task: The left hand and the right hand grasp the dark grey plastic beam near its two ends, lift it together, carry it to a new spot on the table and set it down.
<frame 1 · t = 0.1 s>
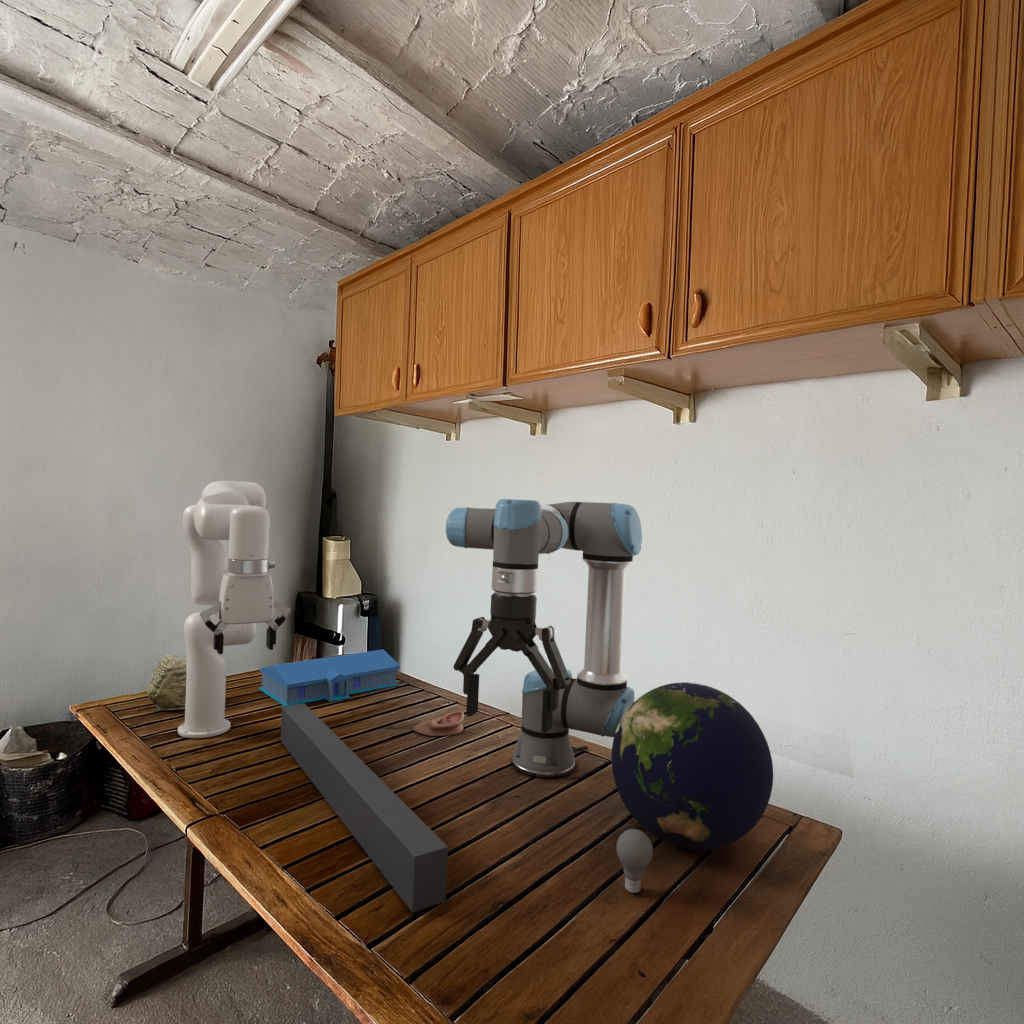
left hand: (245, 650, 130), 31 cm above the table, tool pointing down, fingers open, 9 cm apart
right hand: (508, 721, 104), 28 cm above the table, tool pointing down, fingers open, 13 cm apart
anatomical model: (438, 729, 175), on the table
light bulb: (632, 891, 106), on the table
beam: (343, 802, 132), on the table
model building: (332, 688, 208), on the table
globe: (685, 840, 123), on the table
fossil: (183, 706, 185), on the table
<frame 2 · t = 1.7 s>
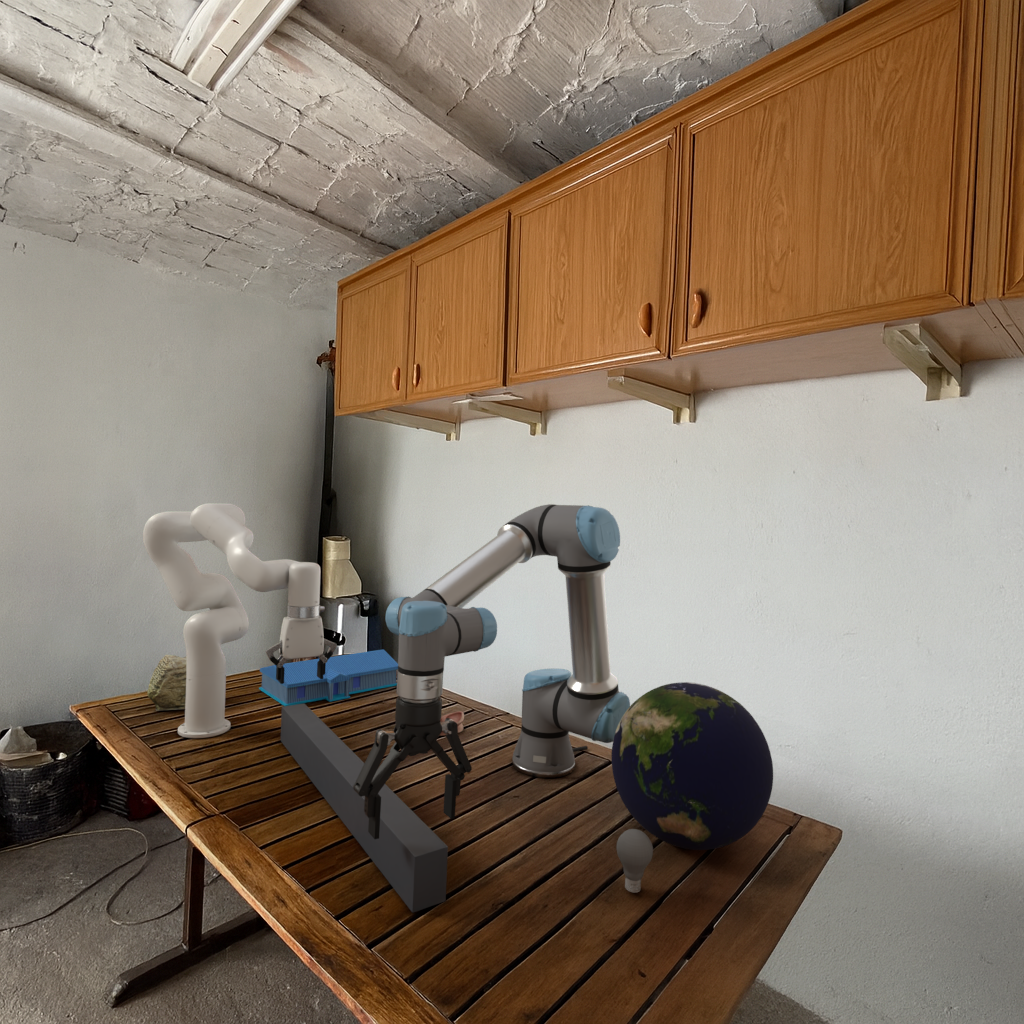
left hand: (300, 680, 158), 17 cm above the table, tool pointing down, fingers open, 9 cm apart
right hand: (412, 825, 104), 10 cm above the table, tool pointing down, fingers open, 13 cm apart
nothing on the table moved.
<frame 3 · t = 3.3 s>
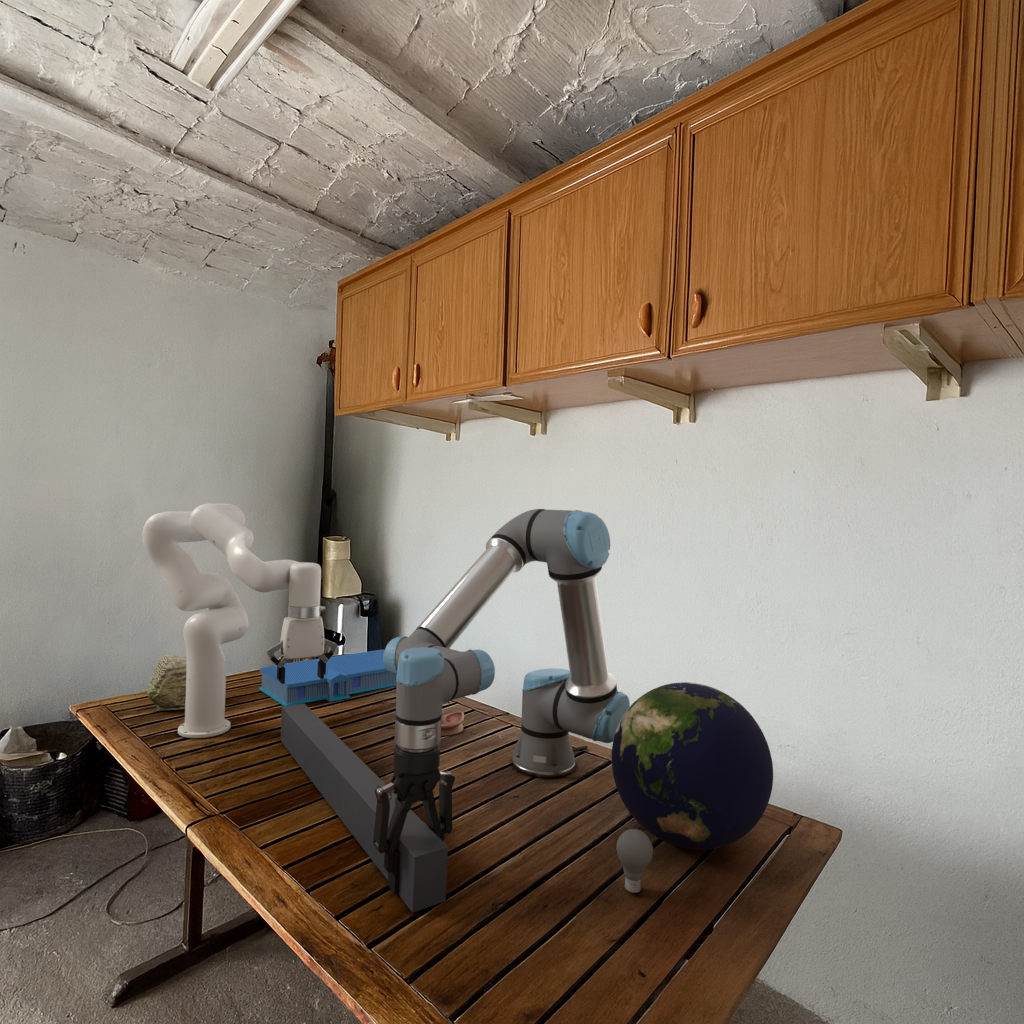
left hand: (301, 679, 159), 17 cm above the table, tool pointing down, fingers open, 9 cm apart
right hand: (411, 882, 105), 0 cm above the table, tool pointing down, fingers closed on beam, 6 cm apart
beam: (343, 802, 132), on the table, touching right hand
everything else where it was.
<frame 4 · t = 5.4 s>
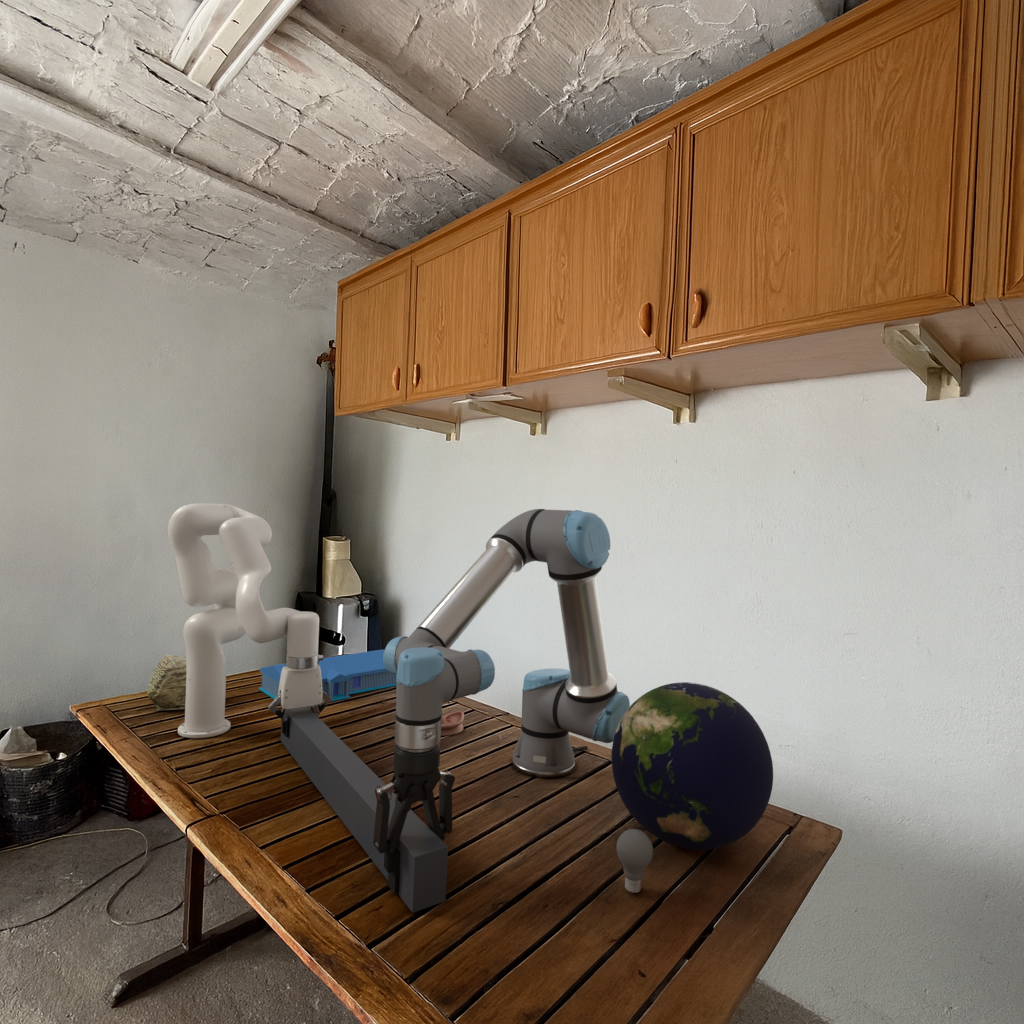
left hand: (299, 732, 159), 4 cm above the table, tool pointing down, fingers closed on beam, 5 cm apart
right hand: (411, 882, 105), 0 cm above the table, tool pointing down, fingers closed on beam, 6 cm apart
beam: (343, 802, 132), on the table, touching left hand, right hand
everything else where it was.
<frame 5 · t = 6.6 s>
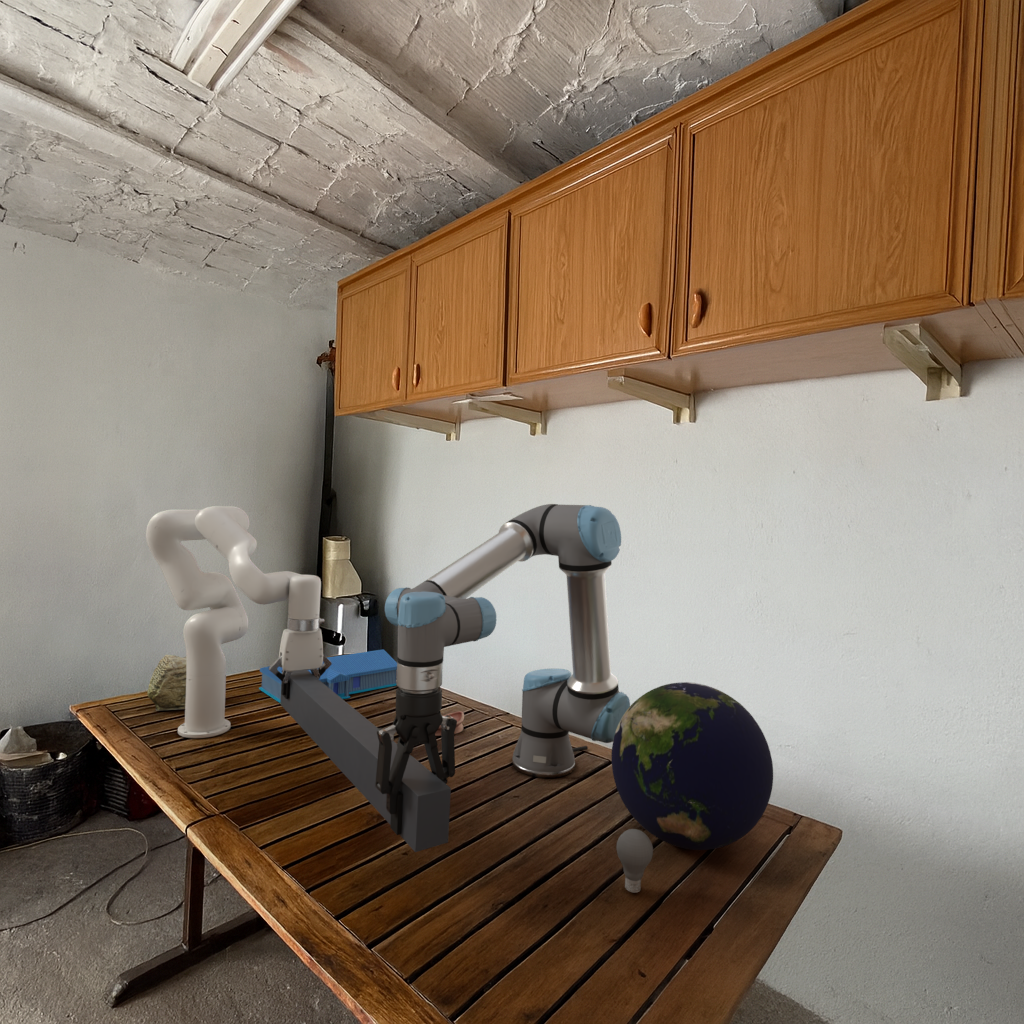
left hand: (299, 695, 159), 13 cm above the table, tool pointing down, fingers closed on beam, 5 cm apart
right hand: (414, 825, 105), 10 cm above the table, tool pointing down, fingers closed on beam, 6 cm apart
beam: (344, 757, 132), point 9 cm above the table, touching left hand, right hand
everything else where it was.
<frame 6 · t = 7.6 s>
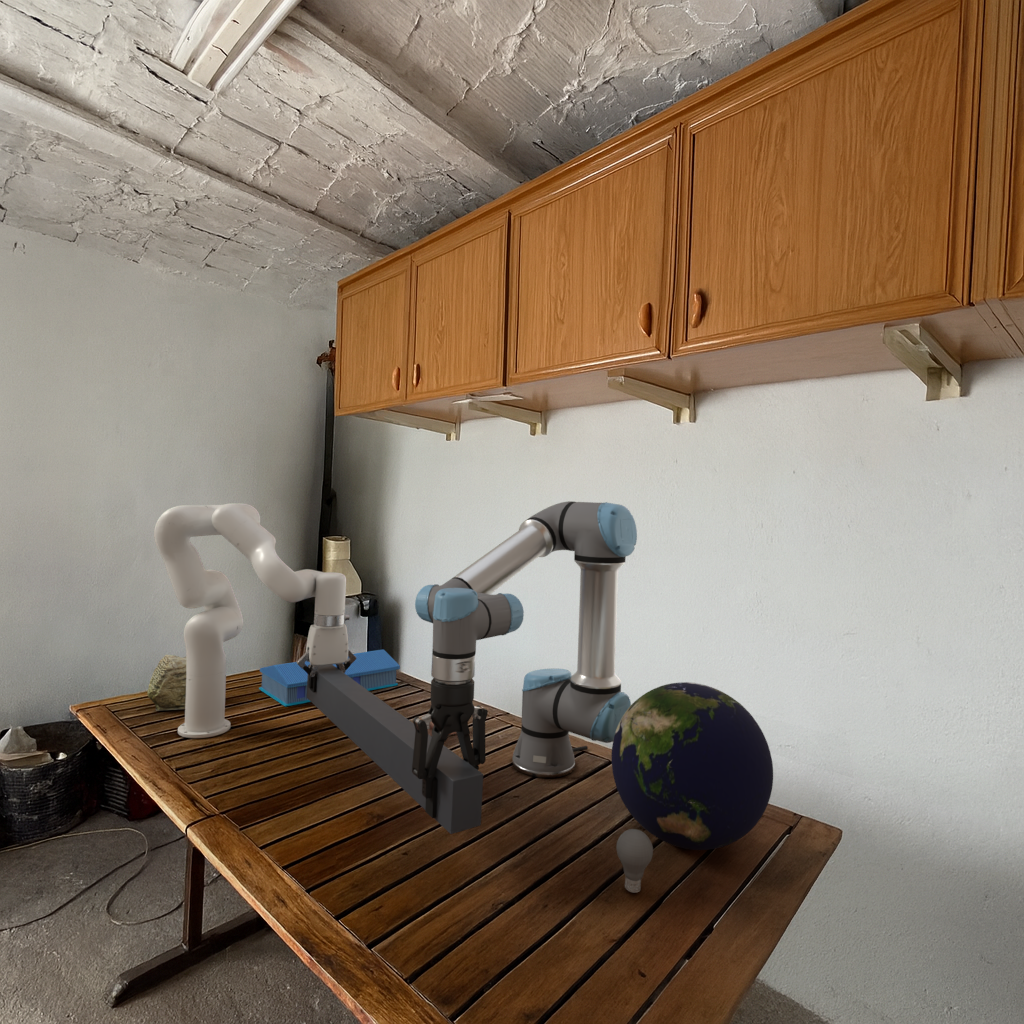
left hand: (325, 688, 165), 13 cm above the table, tool pointing down, fingers closed on beam, 5 cm apart
right hand: (447, 809, 111), 10 cm above the table, tool pointing down, fingers closed on beam, 6 cm apart
beam: (374, 747, 138), point 9 cm above the table, touching left hand, right hand
everything else where it was.
when the right hand's fingers open (2 cm above the table, at t = 10.1 s): beam drops 1 cm, on the table.
when the left hand's fingers open (5 cm above the table, at t = 10.3 s): beam stays where it is, on the table.
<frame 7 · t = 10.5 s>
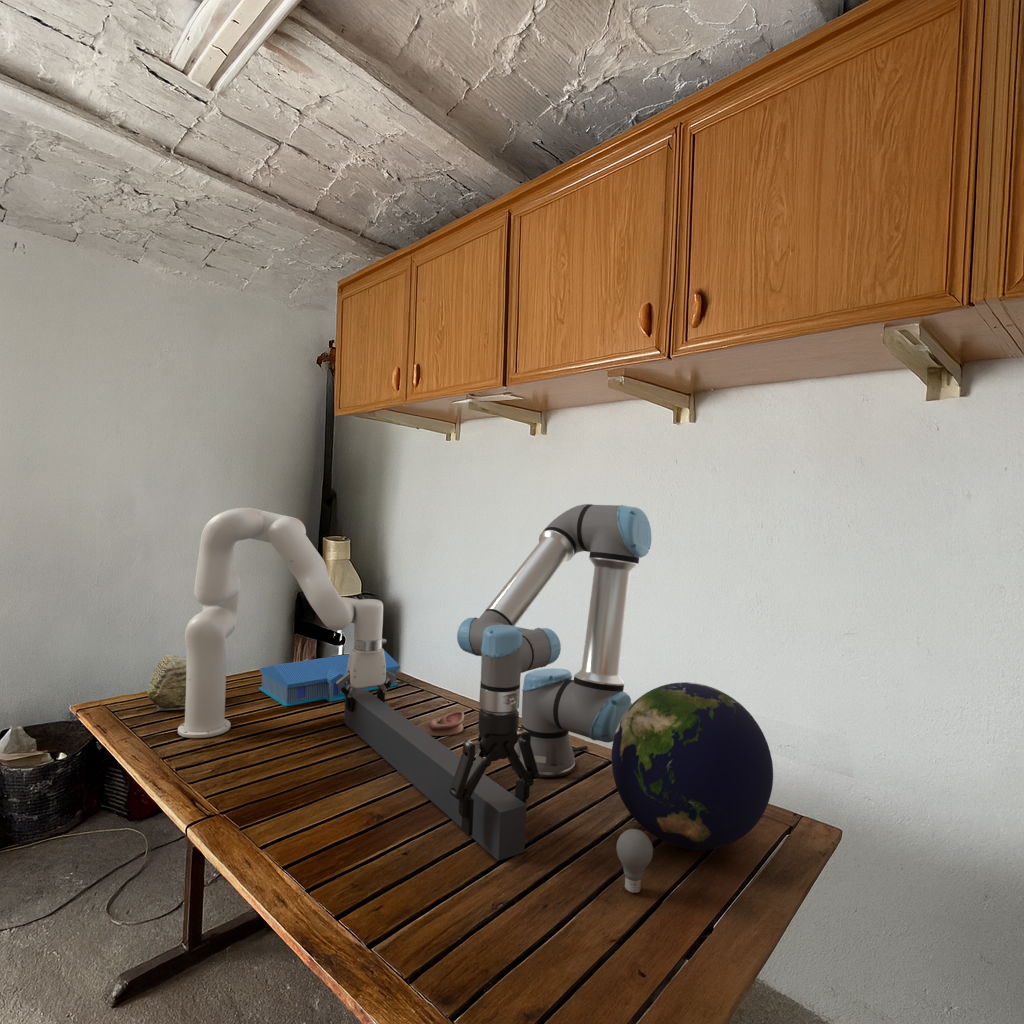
left hand: (365, 708, 174), 6 cm above the table, tool pointing down, fingers open, 8 cm apart
right hand: (494, 824, 119), 3 cm above the table, tool pointing down, fingers open, 11 cm apart
beam: (415, 773, 147), on the table
everything else where it was.
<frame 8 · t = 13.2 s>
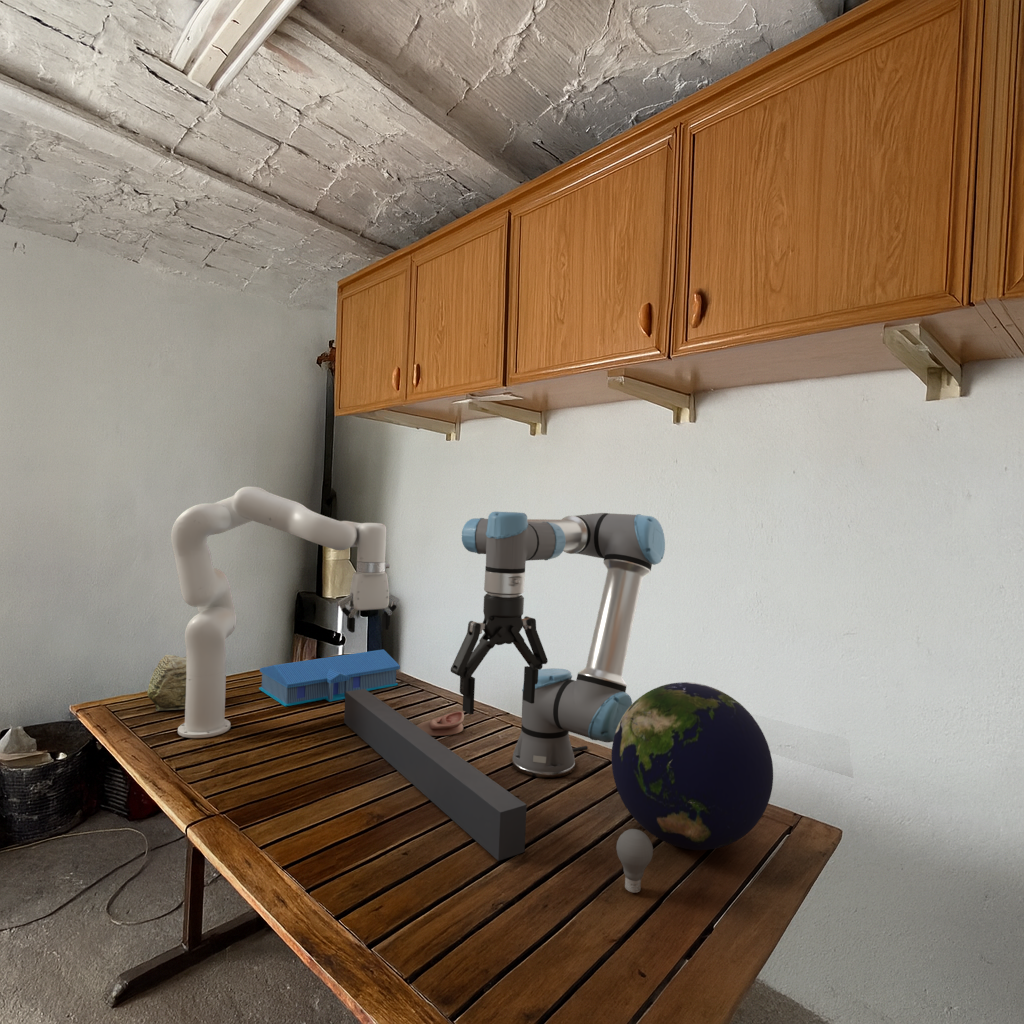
left hand: (368, 630, 173), 27 cm above the table, tool pointing down, fingers open, 9 cm apart
right hand: (499, 706, 119), 25 cm above the table, tool pointing down, fingers open, 13 cm apart
nothing on the table moved.
at the end: beam inside the target area (0.4 cm from its centre), on the table; beam tilted 0°; beam never tilted more than 1° during the clip; both hands held the beam at the same time; the left hand is holding nothing; the right hand is holding nothing; beam at rest at the end (0.0 cm/s) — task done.
